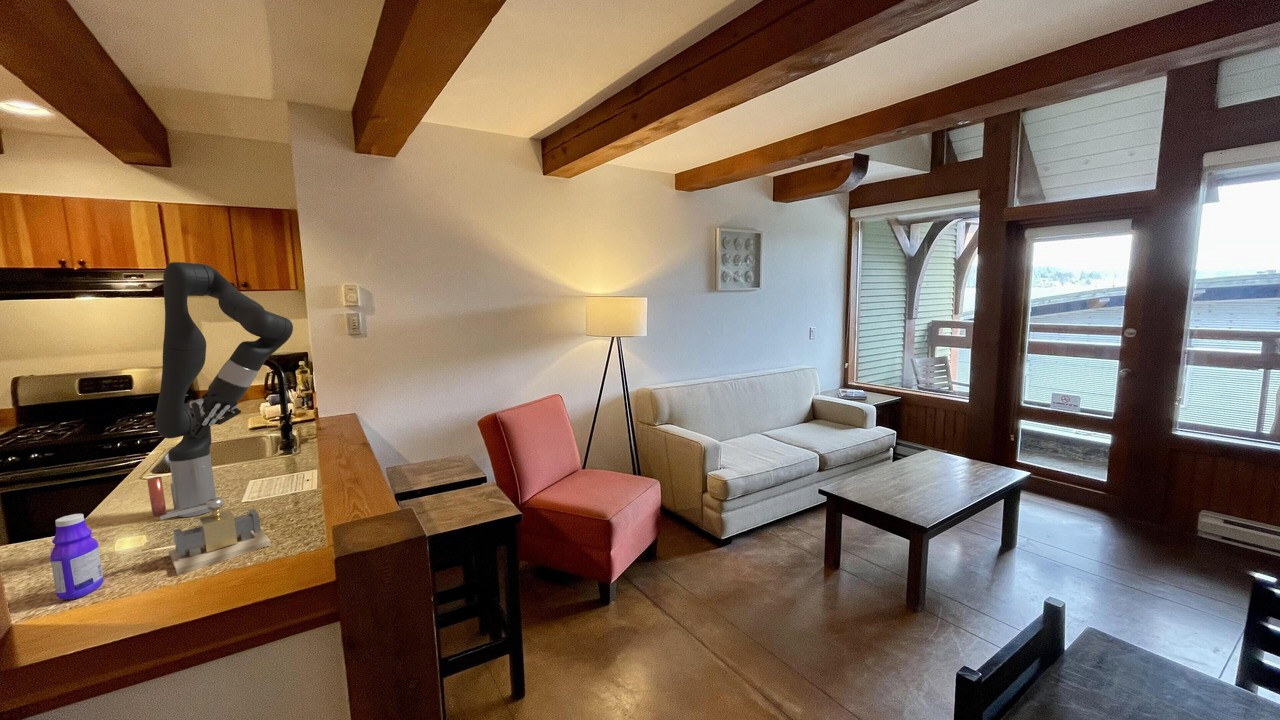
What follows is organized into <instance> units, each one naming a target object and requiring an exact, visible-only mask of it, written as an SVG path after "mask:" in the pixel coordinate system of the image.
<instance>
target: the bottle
mask: <svg viewBox="0 0 1280 720" xmlns="http://www.w3.org/2000/svg"><path fill="white" fill-rule="evenodd" d="M84 516H85V515H84V513H73V514H69V515H64V516H61V517H59V518H57V519H55V522H54V523H55V535H54V537H53V539H52V542H51V543H53V545H54V546H53V547H52V551H51V552H50V556H49V559H50V560H49V561H50V565H51V570H52V578H53V582H54V588H55V595H56V597H57V598H58V599H59V600H61V599H69V600H74V599H73V598H76V599H79V598H81V597H80V596H82V597H84V596H86V595H88V594H90V593H92V592H93V591H96V590H98V589H99V588H100V587H101V586H102V585H103V583H104V576H103V575H104V573H103V567H102V561H101V555H100V550H99V549H100V548H99V543H98V541H97V540H96V538H94V537H93V536H92V534H93V530H92V529H90V528H89V527H88V526H87V524H86V519H85V517H84ZM78 597H79V598H78Z"/></svg>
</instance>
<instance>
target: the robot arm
mask: <svg viewBox="0 0 1280 720" xmlns="http://www.w3.org/2000/svg"><path fill="white" fill-rule="evenodd" d="M162 280H163V283H162V285H163V299H164V332H163V334H164V335H163V341H162V342H163V343H162V345H163V346H162V369H161V370H162V371H161V381H160V388H159V389H160V390H159V394H158V400H157V406H156V412H155V416H154V417H155V419H154V422H155V428H156V431H157V433H158V434H159V435H160V436H161V437H162V438H163V439H164V438H165V439H175V438H180V437H182V439H181V440H180V441H179V442H178V443H177V444H176V445H175V446H173V447H172V448H171V449H169V451H168V452H167V453H168V454H167V456H168V461H169V469H170V475H171V481H172V482H171V484H170V490H171V491H170V492H171V497H172V505H173V511H174V510H178V509H182V508H186V507H191V506H195V505H199V504H203V503H206V501H208V500H210V499H214V498H217V493H216V488H215V487H216V486H215V480H214V478H215V477H214V473H213V466H212V465H213V464H212V457H211V445H212V430H211V427H212V426H214V425H218V426H219V425H223V424H224V423H226V422H228V421H229V420H231V419H233V418H235V417H237V416H239V415H240V414H241V413H242V410H241V409H239V408H238V406H237V405H238V402H239V401H240V400H242V398H243V397H244V396H245V394H246V392H247V391H248V390H249V388H250V387H251V385H252V383H253V382H254V381H255V379H256V377H257V375H258V373H259V371H260V370H261V369H262V367H263V366H264V364H265V363H266V361H267V360H268V358H269V357H270V356H272V355H273V354H274V353H275V352H276V351H277V350H279V349H280V348H281V347H282V346H283V345H284V344H285V343H286V342H288V341H289V339H290V338H291V337H292V335H293V332H294V324H293V323H292V321H291V320H290V319H289V318H287V317H285V316H281V315H279V314H276V313H274V312H270V311H268V310H265V308H264V307H263V305H261V304H260V303H258V302H257V301H255V300H254V299H252V298H250V297H249V296H248V295H245V294H244V293H242V292H241V291H239V290H238V289H237V288H236V287H235V286H234V285H233V284H232V283H231V282H229V281H228V280H227V279H226V277H224V276H223V275H222V274H221V273H220V272H219V271H218V270H217V269H215V268H214V267H212V266H210V265H208V264H203V263H193V262H180V261H173V262H170V263H168V264H167V265H166V267H165V269H164V272H163V279H162ZM205 296H207V297H211V298H215V299H217V301H218V306H219V308H220V310H221V311H222V312H223V314H224V315H226V316H227V317H228V318H230V319H232V320H233V321H235V322H237V323H239V325H240V326H241V327H242V328H243V329H244V330H245V331H246V332H248V333H249V334H251V335H253V336H256V337H258V339H256V340H247V341H246V340H244V341H241V342H240V343H239V344H238V345H237V347H236V348H235V350H234V351H233V353H232V354H231V356H230V357H229V358H228V359H227V360H226V362H225V363H224V364H223V366H221V368H220V370H219V371H218V372H217V374H216V375H215V377H214V378H213V380H212V381H211V382H210V384H209V385H208V387H207V388H208V389H207V391H206V392H205V393H204V394H203V395H201V397H200V398H198V399H188V401H187V402H186V403H185V399H186V395H187V392H188V390H189V389H190V386H191V385H192V383H193V382H194V381H195V379H197V377H198V376H199V375H200V372H202V370H203V367H204V366H205V363H206V357H207V356H206V355H207V340H206V337H205V336H204V334H203V333H202V330H201V329H200V328H199V326H197V325H196V323H195V322H194V320H193V319H192V317H191V314H190V313H189V306H188V297H205ZM209 512H211V510H208V509H203V510H199V511H195V512H191V513H187V514H183V515H178V516H177V517H178V518H179V517H180V518H188V517H189V518H190V517H195V516H200V515H201V516H202V515H204V514H207V513H209Z"/></svg>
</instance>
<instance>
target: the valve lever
mask: <svg viewBox="0 0 1280 720" xmlns="http://www.w3.org/2000/svg"><path fill="white" fill-rule="evenodd" d="M146 481H147V488H148V494H149V500H150V506H151V507H150V508H151V513H152V517H153V518H158V517H159V520H161V521H162V520H166V519H170V518H174V517H178V515H183V514H187V513H191V512H195V511H199V510H203V509H208V510H212V509H217V508H220V509H221V508H222V507H224V500H223V497H216V498H214V499H210V500H208V501H206V503H203V504H199V505H195V506H191V507H186V508H182V509H178V510H174V509H173V510H171V511H170V510H169V511H167V505H166V501H165V500H166V499H165V493H164V487H163V478H162V476H153V477H150V478H147V479H146Z"/></svg>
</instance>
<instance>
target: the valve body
mask: <svg viewBox="0 0 1280 720" xmlns="http://www.w3.org/2000/svg"><path fill="white" fill-rule="evenodd" d="M210 512H211V513H210V514H211V515H207V516H202V517H199V518H198V520H199V526H198V527H194V528H191V529H187V530H183V531H182V530H181V528H176V529H173V530H172V531H173V538H174V544H175V548H176V551H177V553H178V555H179V556H181V555H184V554H185V550H188V553H189V555H190V557H193V556H196V555H199V554H201V550H200V546H202V545H203V546H204V548H205V550H206V552H209V551H213V550H216V549H219V548H223V547H226V546H229V545H233V544H236V543H237V536H236V535H238V537H239V538H240V540H241V541H246V540H249V539H251V531H254V533H259V532H261V530H262V529H261V524H260V516H259V515H260V514H259V513H258V511H256V509H255V508H251V509H248V513H245V514H241V515H238V516H234V515H233V513H232V512H231V510H226V511H221V507H220V508H217V509H212V510H211V511H210ZM260 529H261V530H260Z"/></svg>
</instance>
